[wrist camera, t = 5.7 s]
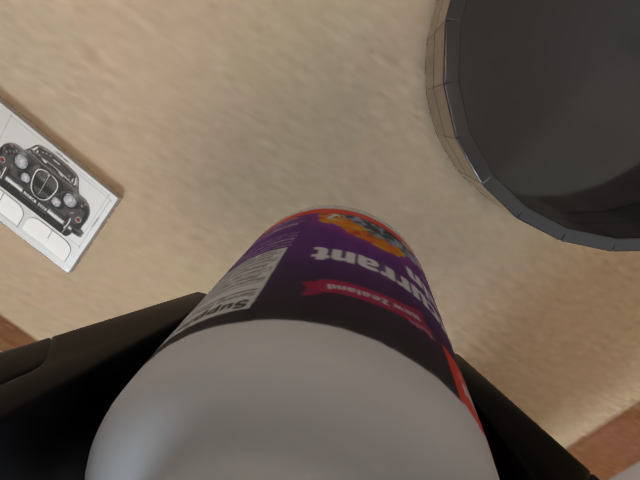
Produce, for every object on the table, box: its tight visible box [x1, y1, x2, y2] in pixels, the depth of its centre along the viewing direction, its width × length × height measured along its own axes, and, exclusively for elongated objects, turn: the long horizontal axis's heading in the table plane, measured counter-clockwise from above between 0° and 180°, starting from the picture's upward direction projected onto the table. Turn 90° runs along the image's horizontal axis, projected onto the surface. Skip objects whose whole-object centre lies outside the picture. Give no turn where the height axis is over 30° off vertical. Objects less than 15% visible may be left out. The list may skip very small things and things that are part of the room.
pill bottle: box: [85, 206, 500, 480], centre depth 7 cm, size 5×5×10 cm
